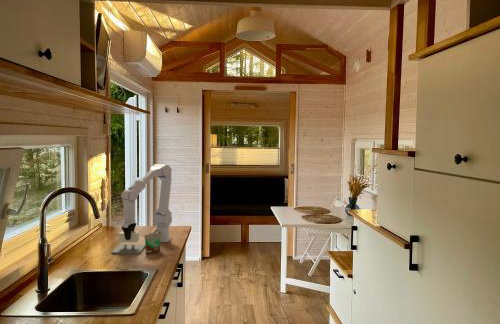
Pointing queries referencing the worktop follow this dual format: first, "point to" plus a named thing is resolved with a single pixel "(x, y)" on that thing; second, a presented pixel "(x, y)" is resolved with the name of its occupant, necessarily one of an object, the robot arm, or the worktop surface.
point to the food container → (153, 242)
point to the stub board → (128, 249)
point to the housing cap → (133, 237)
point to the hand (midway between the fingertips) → (129, 238)
